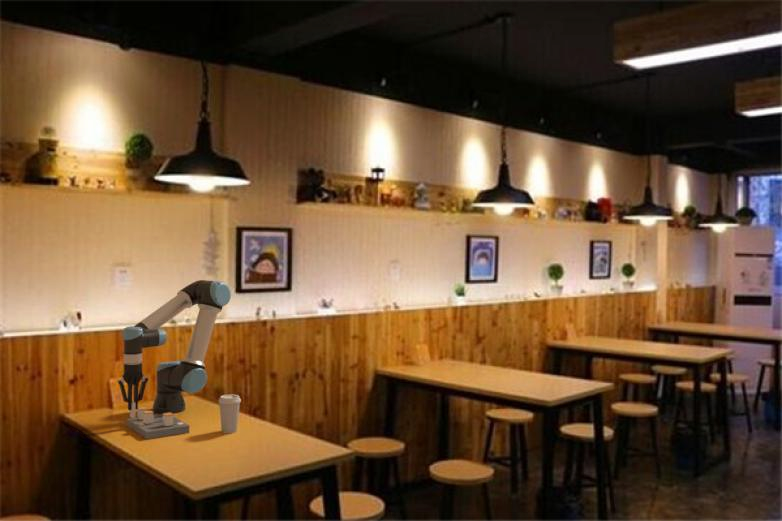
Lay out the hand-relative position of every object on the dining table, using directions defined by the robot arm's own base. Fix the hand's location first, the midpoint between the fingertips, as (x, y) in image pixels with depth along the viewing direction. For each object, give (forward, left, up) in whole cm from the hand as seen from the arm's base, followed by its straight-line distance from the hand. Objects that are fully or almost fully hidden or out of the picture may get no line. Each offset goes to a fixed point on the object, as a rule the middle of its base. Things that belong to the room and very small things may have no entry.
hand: (132, 417), depth 298 cm
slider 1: (-4, 0, -1) cm, 4 cm away
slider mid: (-4, +8, -1) cm, 9 cm away
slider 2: (-10, +16, -1) cm, 19 cm away
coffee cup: (-32, +28, -5) cm, 43 cm away
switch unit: (-8, +8, -5) cm, 12 cm away
